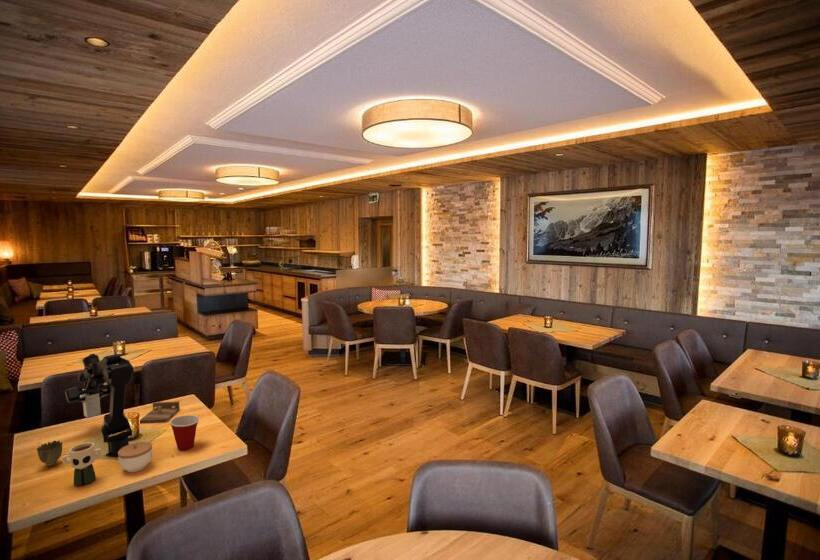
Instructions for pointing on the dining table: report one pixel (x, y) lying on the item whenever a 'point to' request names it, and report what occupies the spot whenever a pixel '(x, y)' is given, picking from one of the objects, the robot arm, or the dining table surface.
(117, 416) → the robot arm
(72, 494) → the dining table surface
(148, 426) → the dining table surface
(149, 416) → the brown flat stand
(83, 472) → the character mug
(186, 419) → the plastic cup
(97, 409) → the grey rectangular block
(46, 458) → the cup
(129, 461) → the lidded jar
